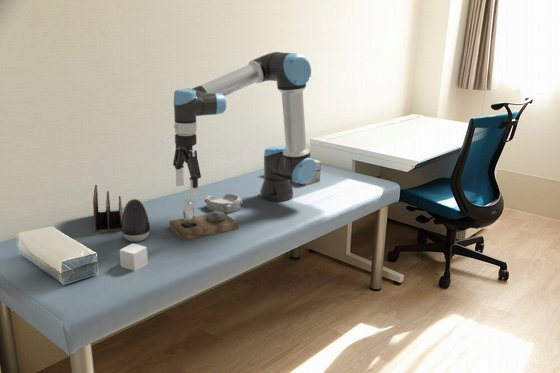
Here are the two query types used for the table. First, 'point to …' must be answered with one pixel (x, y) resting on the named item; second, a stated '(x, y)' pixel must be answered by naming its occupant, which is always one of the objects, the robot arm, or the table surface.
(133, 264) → the white cube
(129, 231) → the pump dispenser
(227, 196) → the dish
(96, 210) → the letter holder
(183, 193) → the table surface
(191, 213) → the pin
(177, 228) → the plate
